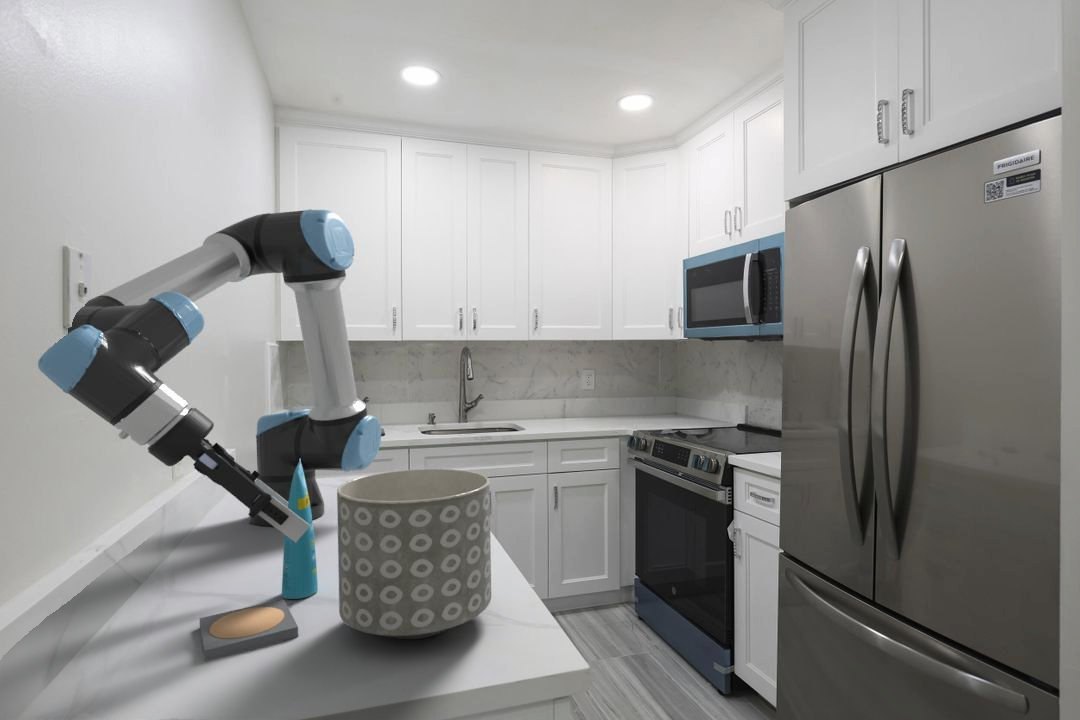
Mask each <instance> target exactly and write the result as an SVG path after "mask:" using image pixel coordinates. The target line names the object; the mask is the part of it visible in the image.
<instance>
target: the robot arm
mask: <svg viewBox="0 0 1080 720" xmlns="http://www.w3.org/2000/svg"><path fill="white" fill-rule="evenodd" d="M354 244H355V243H354V241H353V236H352V233H351V231H350V230H349V227H348V226H347V224H346V223H345V221H343V220H342V218H341V216H339V215H338V214H336V213H335V212H333V211H331V210H328V209H327V210H326V209H311V208H309V209H304V210H295V211H294V210H293V211H284V212H283V211H282V212H274V213H273V212H272V213H270V212H269V213H267V212H266V213H261V214H256V215H253V216H249V217H247V218H244V219H243V220H240V221H238V222H236V223H233V224H231V225H228V226H227V227H225V228H223V229H221V230H219V231H216V232H214V233H212V234H210V235H208V236H207V237H206V238H205V239H204V241H203V242H202V245H201V246H198V247H197V248H195V249H193V250H190V251H189V252H187V253H184V254H183V255H179V256H178V257H176V258H174V259H173V260H170V261H168V262H166V263H164V264H161V265H160V266H157V267H156V268H153V269H152V270H149V271H148V272H146V273H143V274H141V275H139V276H137V277H135V278H133V279H131V280H128V281H126V282H125V283H123V284H121V285H118V286H116V287H114V288H112V289H110V290H108V291H107V292H103V293H102V294H99V295H98V296H95V297H92V298H90V299H91V300H90V299H88V300H89V301H88V300H87V301H88V302H87V303H86V304H85V306H84V307H82V308H81V309H80V310H79V311H78V312H77V313H76V315H75V317H74V319H73V322H72V327H70V328H68V334H67V335H66V336H64V337H63V338H62V339H60V340H59V341H58V342H57V343H55V344H54V345H53V346H52V347H50V348H49V349H48V350H47V351H46V352H45V353H44V354H42V355H41V356H40V358H39V359H38V363H37V367H38V369H39V371H40V372H41V373H42V374H43V375H45V376H46V377H47V378H48V379H49V380H50V381H51V382H52V383H53V384H55V385H56V386H57V387H58V388H59V389H61V390H62V392H63V393H65V394H68V395H70V396H71V397H72V398H74V399H75V400H77V401H78V402H79V403H81V404H82V405H84V406H85V407H86V408H87V409H89V410H90V411H92V412H93V413H94V414H96V415H98V417H100V418H101V419H103V420H104V421H106V422H107V423H109V424H110V425H111V426H113V427H115V429H117V430H120V432H119V433H118V438H119V439H121V440H126V439H127V438H128V437H130V439H131V440H132V441H133V442H135V443H136V444H138V445H139V446H145V445H148V447H147V453H149V454H150V455H152V456H153V457H155V458H156V459H157V460H158V461H160V462H161V463H162V464H164V465H165V466H167V467H172V466H175V465H177V464H178V463H180V462H181V461H182V460H183V459H184V458H185V457H187V456H188V457H189V458H191V459H192V460H193V461H194V463H193V464H192V465H193V468H194V469H195V470H196V471H197V472H198V473H199V474H201V475H203V476H205V477H207V478H208V479H209V480H211V481H212V482H213V483H215V484H217V485H218V486H220V487H222V488H223V489H224V490H226V491H227V492H228V493H230V494H231V495H232V496H233V497H235V498H236V499H237V500H238V501H239V502H240V503H242V504H243V505H244V506H246V507H247V508H248V509H249V511H248V514H247V515H248V518H249V519H248V522H249V524H253V525H256V526H267V527H270V526H271V527H272V526H273V527H274V528H276V529H277V530H278V531H280V533H282V534H283V535H284V536H285V535H286V536H287V537H289V538H290V539H291V540H293V541H294V542H295V543H296V542H297V541H298V540H299V538H300V537H301V536H302V535H303V534H304V533H305V532H306V531H307V529H308V528H309V527H310V525H309V524H308V523H307V522H305V521H304V520H303V519H301V518H300V517H299V516H298V515H296V514H295V513H294V512H292V511H291V510H290V509H288V502H289V495H290V489H291V484H292V479H293V475H294V472H295V470H296V467H297V465H298V463H299V460H300V459H301V464H302V468H303V472H304V476H305V481H306V485H307V490H308V495H309V500H310V507H311V514H312V520H315V519H318V518H319V517H321V516H323V515H324V514H325V501H324V498H323V495H322V492H321V490H320V488H319V487H320V486H319V485H318V482H317V479H316V471H338V472H339V471H343V472H344V473H345V472H351V471H352V472H353V471H356V472H357V471H362V470H365V469H367V468H368V467H370V466H371V464H372V463H374V461H375V458H376V457H377V455H378V453H379V452H378V451H379V449H380V446H381V442H382V427H381V422H380V421H379V420H378V418H377V417H376V416H374V415H372V414H369V415H368V410H367V405H366V403H365V401H363V400H361V399H359V397H358V396H357V387H356V381H355V375H354V368H353V363H352V357H351V350H350V344H349V337H348V332H347V331H348V329H347V325H346V318H345V312H344V311H345V310H344V305H343V299H342V298H343V297H342V293H341V284H343V282H344V281H345V280H346V279H347V273H346V270H348V269H349V268H350V267H351V266H352V264H353V262H354V261H355V260H354V256H355V245H354ZM263 274H282V277H283V283H284V284H285V285H286V286H287V287H288V288H290V289H291V290H292V291H293V292H294V297H295V301H296V303H295V304H296V307H297V314H298V318H299V325H300V331H301V337H302V342H303V347H304V352H305V353H304V354H305V360H306V364H307V370H308V377H309V381H310V389H311V393H312V398H313V407H312V408H307V409H300V410H299V409H298V410H292V411H291V410H290V411H287V412H286V411H285V412H284V411H283V412H278V413H272V414H265V415H262V416H260V417H259V418H258V420H257V422H256V434H255V438H256V466H257V468H256V470H253V471H252V473H251V471H250V470H247V469H246V468H244V467H243V466H242V465H240V464H239V463H238V462H237V461H235V458H234V457H233V456H232V455H231V454H229V452H228V451H227V449H225V448H224V447H223V446H222V445H220V444H219V443H218V442H215V443H214V444H213V443H211V442H210V440H209V439H207V436H208V435H209V434H210V433H211V431H212V430H214V429H213V428H214V427H215V424H214V423H215V422H213V421H212V420H211V419H210V418H209V417H208V416H206V415H205V414H204V413H202V412H201V411H200V410H198V409H197V408H196V407H195V408H194V407H191V408H189V407H188V406H189V401H188V400H187V399H185V397H183V396H182V395H180V394H179V393H178V392H177V391H176V390H174V389H173V388H172V387H171V386H169V385H168V384H167V383H166V382H164V381H162V380H161V379H159V377H157V376H156V375H155V373H156V372H158V371H159V369H161V368H162V367H163V366H164V365H165V364H167V363H168V362H169V361H170V360H172V359H173V358H174V357H175V356H176V355H178V354H179V353H180V352H182V351H184V349H185V348H186V347H188V346H190V345H191V344H192V342H193V341H194V339H195V338H196V337H198V336H199V334H200V333H201V332H203V329H204V327H205V319H204V318H205V317H204V315H203V313H202V311H201V310H200V308H199V306H198V304H196V303H195V302H197V301H198V300H199V299H201V298H203V297H205V296H206V295H208V294H210V293H212V292H214V291H215V290H217V289H219V288H220V287H222V286H224V285H226V283H239V282H241V281H244V280H245V279H247V278H249V277H251V276H256V275H263Z"/></svg>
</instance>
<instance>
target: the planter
mask: <svg viewBox="0 0 1080 720" xmlns="http://www.w3.org/2000/svg"><path fill="white" fill-rule="evenodd" d="M490 487H491V486H490V479H489V478H488V477H487V476H486V475H484V474H481V473H479V472H474V471H469V470H463V469H462V470H461V469H449V468H421V469H418V468H417V469H401V470H395V471H387V472H386V471H385V472H379V473H373V474H369V475H365V476H360V477H357V478H354V479H350V480H348V481H346V482H344V483H342V484H341V485H339V487H338V488H337V490H336V499H337V501H336V502H337V503H336V504H337V506H336V507H337V508H336V509H337V555H338V556H337V560H338V565H337V566H338V606H339V607H338V609H339V610H338V612H339V617H340V619H341V621H342V622H344V623H345V625H347V626H348V627H350V629H351V628H352V629H354V630H355V631H359V632H361V633H366V634H369V635H370V634H371V635H375V636H376V635H377V636H383V637H386V638H391V639H397V640H419V639H424V638H429V637H433V636H437V635H439V634H441V633H444V632H446V631H449V630H450V629H453V628H454V627H458V626H460V625H462V624H464V623H467V622H468V621H471V620H472V619H474V618H476V617H478V616H479V615H480V614H481V613H483V612H484V611H485V610H486V609H487V608H488V606H489V605H490V603H491V599H492V556H491V555H492V552H491V549H492V548H491V547H492V546H491V496H490V495H491V492H490V491H491V489H490Z"/></svg>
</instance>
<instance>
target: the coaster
mask: <svg viewBox="0 0 1080 720" xmlns="http://www.w3.org/2000/svg"><path fill="white" fill-rule="evenodd" d="M199 630H200V639H201V645H202V651H203V659H204V662H206V661H210V660H213V659H214V658H215V659H218V658H221V657H226V656H230V655H233V654H236V653H237V654H238V653H240V652H244V651H248V650H252V649H256V648H260V647H263V646H267V645H270V644H275V643H278V642H282V641H286V640H290V639H293V638H297V637H299V626H298V624H297V622H296V620H295V618H294V616H293V614H292V613H291V611H290V608H289V607H288V604H287V602H286V600H285V599H284V598H283V599H278V600H274V601H273V600H272V601H270V602H264V603H260V604H256V605H252V606H247V607H243V608H238V609H233V610H230V611H226V612H225V611H224V612H221V613H217V614H211V615H207V616H203V617H200V618H199Z"/></svg>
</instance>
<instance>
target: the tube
mask: <svg viewBox="0 0 1080 720" xmlns="http://www.w3.org/2000/svg"><path fill="white" fill-rule="evenodd" d="M288 509H290V510H291V511H292V512H294V513H295V514H296V515H298V516H299V517H300V518H301V519H303V520H304V521H305V522H307V523H308V524H309V525H310V527H309V528H308V529H307V531H306V532H305V533H304V534H303V535H302V536H301V537H300V538H299V540H298V541H297V542H296V543H295V542H294V541H293V540H291V539H290V538H289V537H287V536H286V535H285V534H284V543H283V544H284V546H283V557H282V578H281V579H282V580H281V582H282V583H281V595H282V597H283V599H284V598H285V599H289V600H300V599H305V598H308V597H311V596H313V595H314V594H316V593H317V592H318V591H319V590H318V587H319V586H318V585H319V584H318V572H317V571H318V569H317V556H316V555H317V554H316V541H315V540H316V539H315V532H314V531H315V530H314V523H313V519H312V514H311V507H310V500H309V495H308V490H307V485H306V481H305V476H304V472H303V468H302V464H301V459H300V460H299V463H298V465H297V467H296V470H295V472H294V475H293V479H292V484H291V489H290V495H289V502H288Z"/></svg>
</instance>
